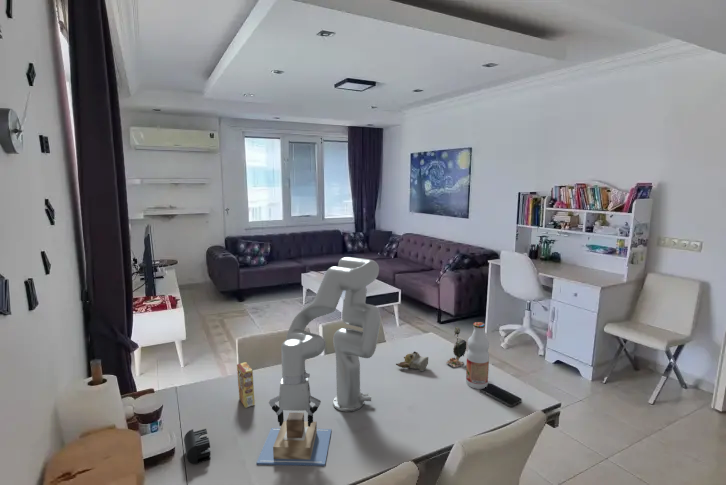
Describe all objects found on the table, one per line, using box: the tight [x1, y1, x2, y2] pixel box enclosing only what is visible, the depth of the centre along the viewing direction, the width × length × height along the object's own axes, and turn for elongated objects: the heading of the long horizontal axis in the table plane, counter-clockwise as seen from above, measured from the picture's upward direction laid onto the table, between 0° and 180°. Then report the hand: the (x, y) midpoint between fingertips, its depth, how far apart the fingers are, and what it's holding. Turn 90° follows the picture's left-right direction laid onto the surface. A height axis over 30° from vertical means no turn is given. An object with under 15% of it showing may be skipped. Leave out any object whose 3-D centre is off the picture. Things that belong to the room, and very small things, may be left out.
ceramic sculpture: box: [395, 351, 429, 372], centre depth 192 cm, size 11×9×15 cm
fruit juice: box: [465, 321, 490, 390], centre depth 175 cm, size 9×9×28 cm
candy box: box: [236, 361, 256, 409], centre depth 162 cm, size 9×4×15 cm, turn 33°
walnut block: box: [285, 412, 305, 438], centre depth 135 cm, size 5×5×6 cm
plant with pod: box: [445, 326, 468, 368], centre depth 195 cm, size 8×11×20 cm
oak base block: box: [273, 420, 318, 459], centre depth 136 cm, size 12×14×5 cm
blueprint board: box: [256, 427, 332, 467], centre depth 136 cm, size 22×18×1 cm
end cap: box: [183, 428, 212, 465], centre depth 132 cm, size 10×7×7 cm
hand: (295, 423), depth 135 cm, fingers open, 9 cm apart
